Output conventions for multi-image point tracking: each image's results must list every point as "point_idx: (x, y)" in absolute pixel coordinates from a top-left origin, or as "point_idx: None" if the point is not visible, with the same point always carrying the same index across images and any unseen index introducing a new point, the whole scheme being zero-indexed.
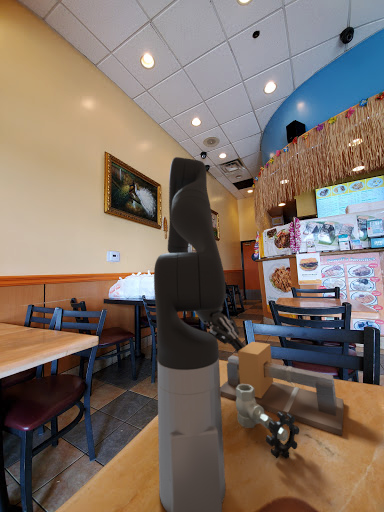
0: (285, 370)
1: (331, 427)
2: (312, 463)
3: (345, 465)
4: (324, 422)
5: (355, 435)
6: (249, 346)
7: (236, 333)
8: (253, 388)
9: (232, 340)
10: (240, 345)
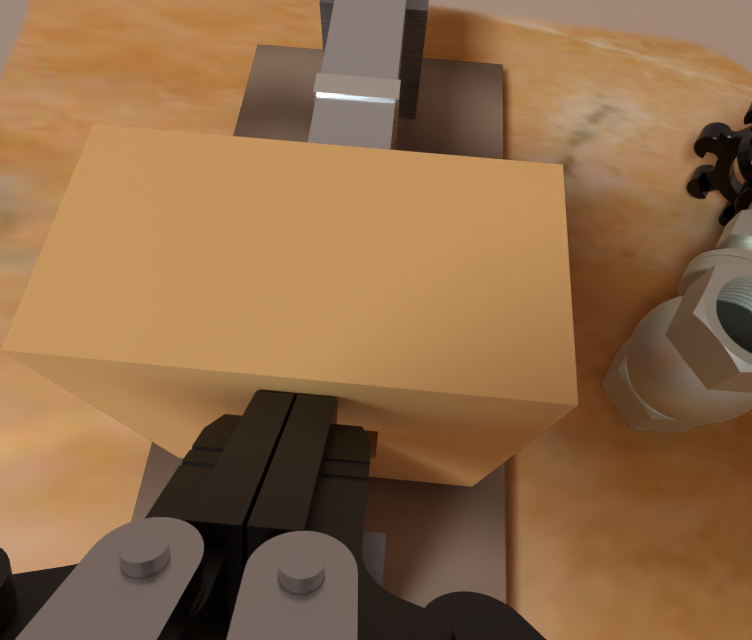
0: (395, 107)
1: (500, 89)
2: (694, 151)
3: (634, 84)
4: (487, 104)
5: (467, 52)
6: (289, 322)
7: (2, 610)
8: (733, 264)
9: (374, 591)
10: (323, 450)
